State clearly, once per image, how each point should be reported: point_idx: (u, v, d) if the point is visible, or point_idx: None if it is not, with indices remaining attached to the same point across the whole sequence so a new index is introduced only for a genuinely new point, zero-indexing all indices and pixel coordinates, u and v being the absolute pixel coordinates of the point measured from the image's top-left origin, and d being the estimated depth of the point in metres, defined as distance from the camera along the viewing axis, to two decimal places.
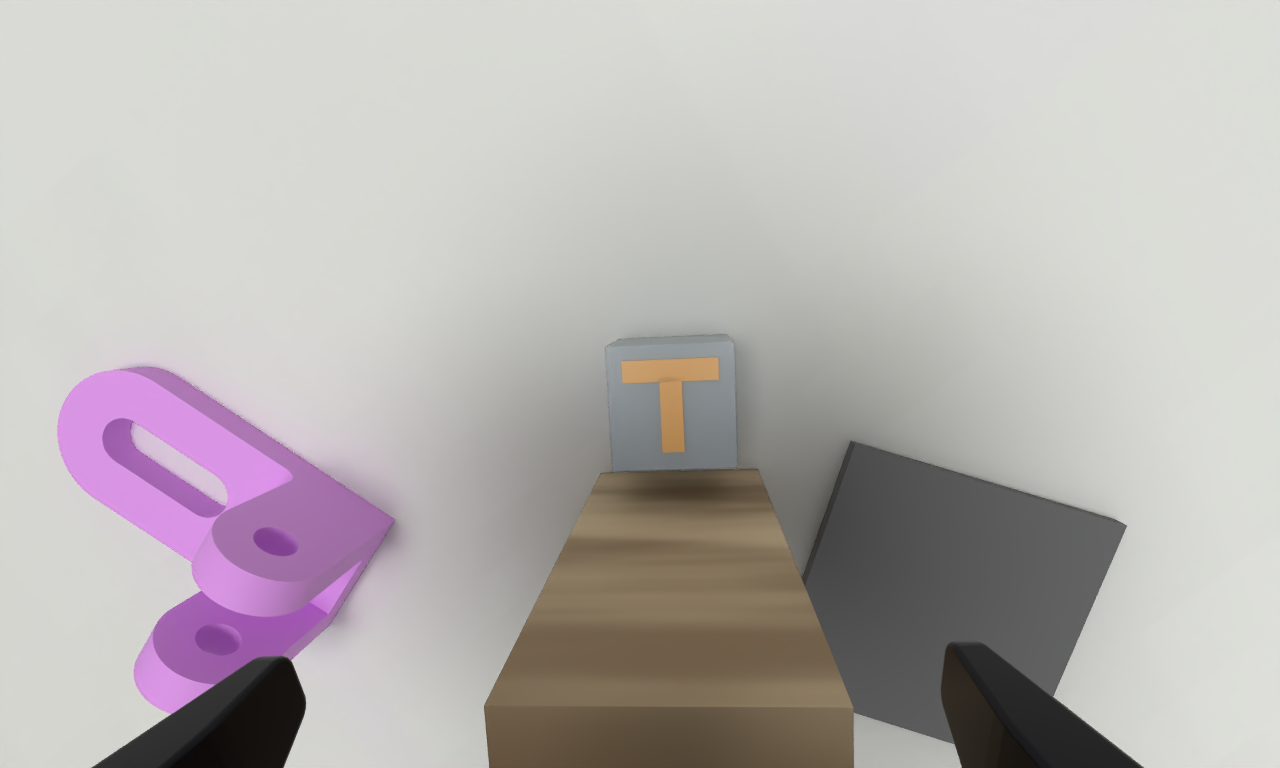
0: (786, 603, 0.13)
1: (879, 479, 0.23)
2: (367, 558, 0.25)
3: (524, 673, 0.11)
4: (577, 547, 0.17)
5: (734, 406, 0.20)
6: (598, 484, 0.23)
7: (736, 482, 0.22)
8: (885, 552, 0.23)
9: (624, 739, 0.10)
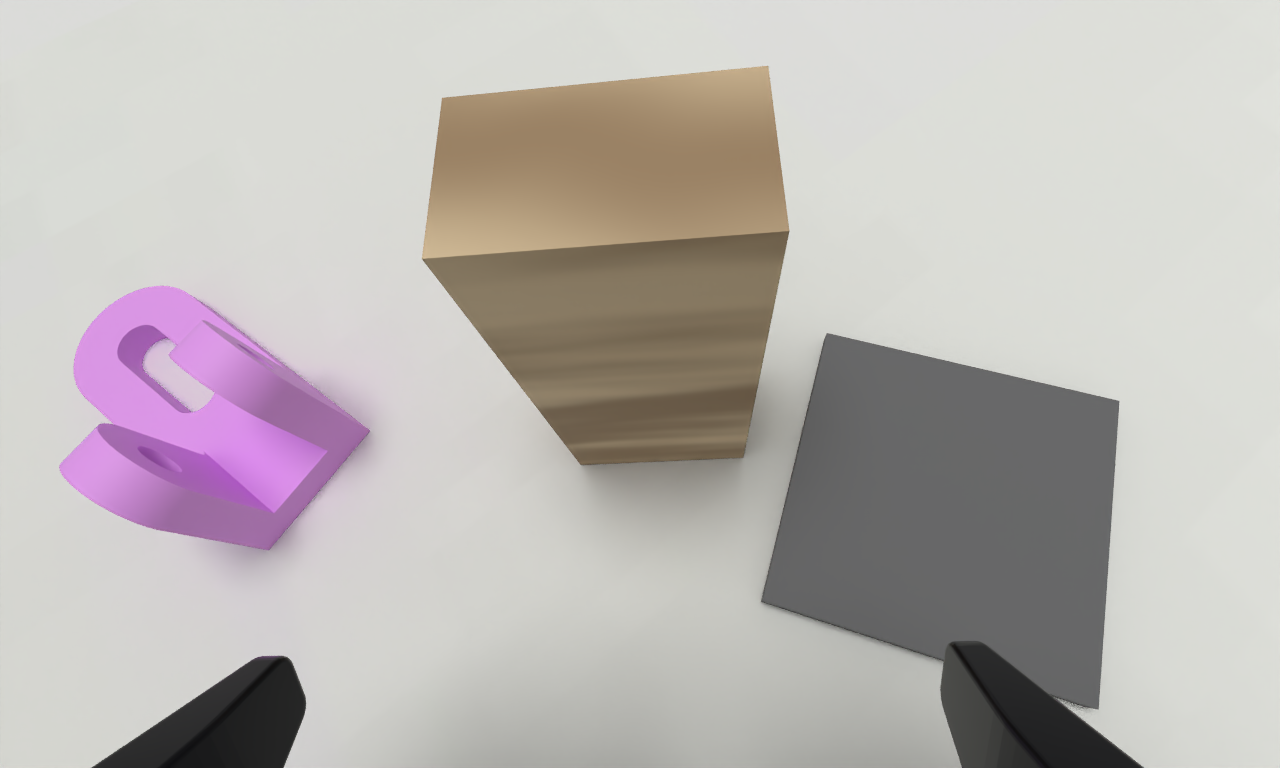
0: None
1: (855, 364, 0.23)
2: (332, 461, 0.24)
3: None
4: None
5: None
6: None
7: None
8: (873, 436, 0.22)
9: (563, 110, 0.11)
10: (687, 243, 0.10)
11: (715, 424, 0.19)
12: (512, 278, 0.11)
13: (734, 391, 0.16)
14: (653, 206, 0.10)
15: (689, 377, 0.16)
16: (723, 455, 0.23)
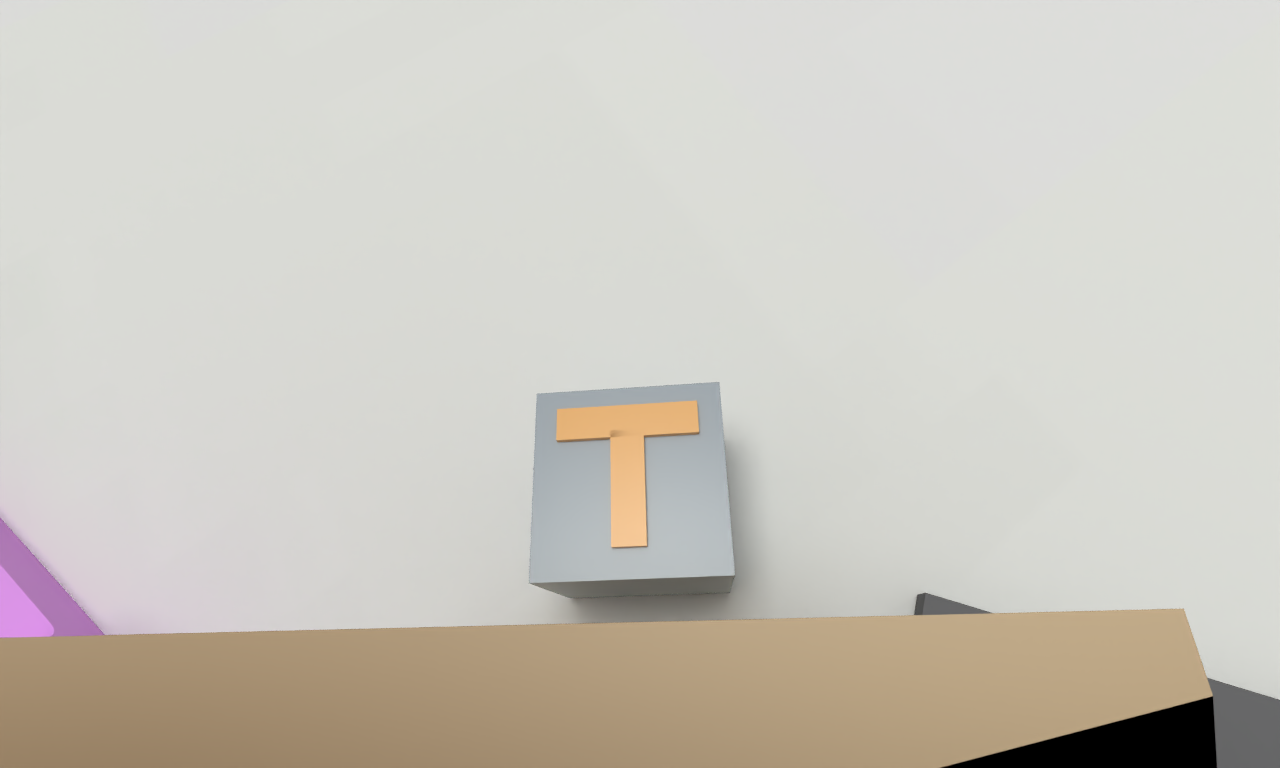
0: None
1: None
2: None
3: None
4: None
5: (724, 474, 0.13)
6: None
7: None
8: None
9: None
10: None
11: None
12: None
13: None
14: None
15: None
16: None
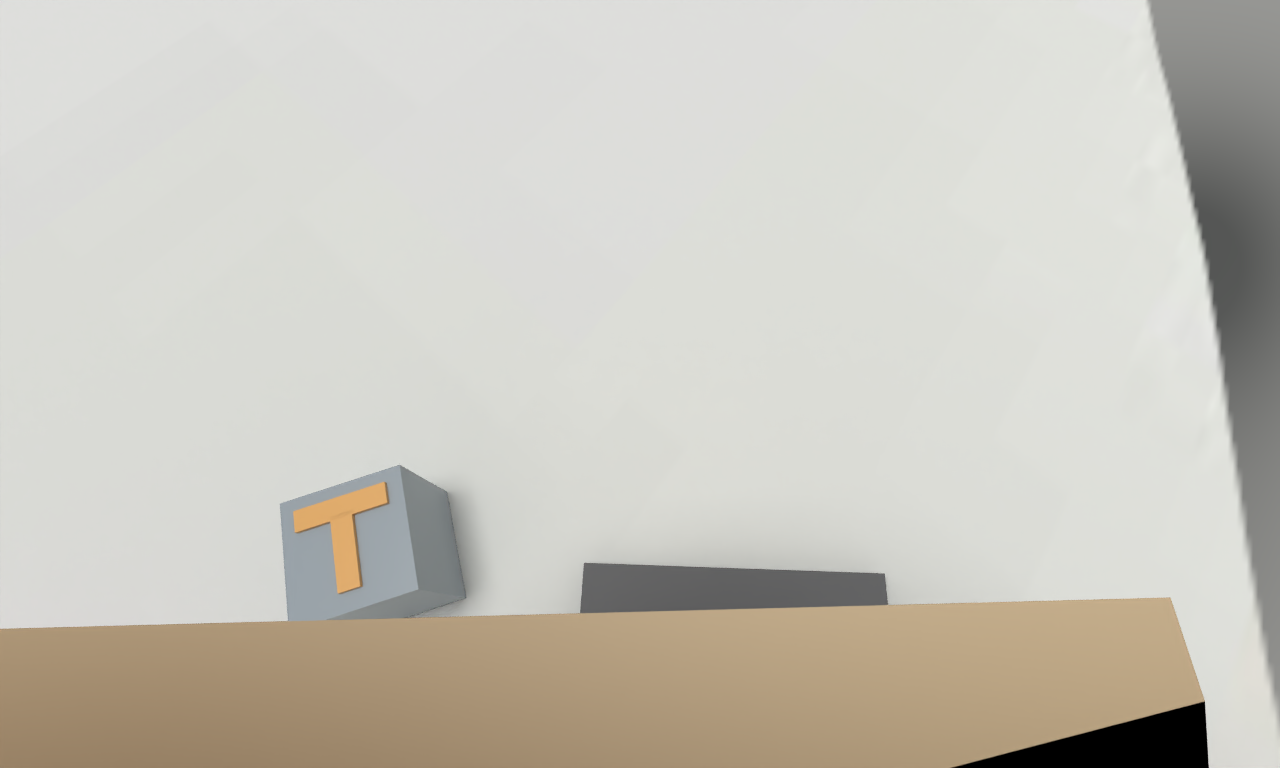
0: None
1: (618, 594, 0.21)
2: None
3: None
4: None
5: (407, 526, 0.19)
6: None
7: None
8: None
9: None
10: None
11: None
12: None
13: None
14: None
15: None
16: None
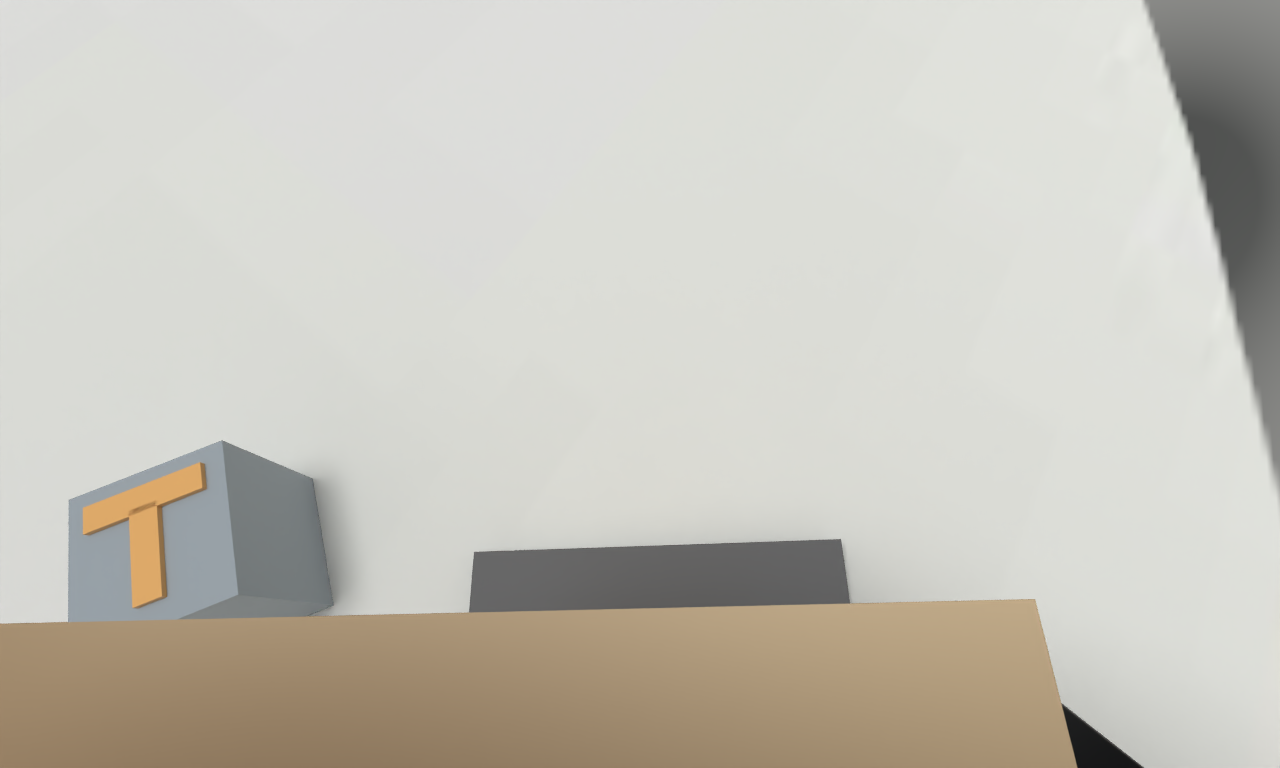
0: None
1: (515, 587, 0.17)
2: None
3: None
4: None
5: (228, 515, 0.15)
6: None
7: None
8: None
9: (286, 743, 0.03)
10: None
11: None
12: None
13: None
14: None
15: None
16: None
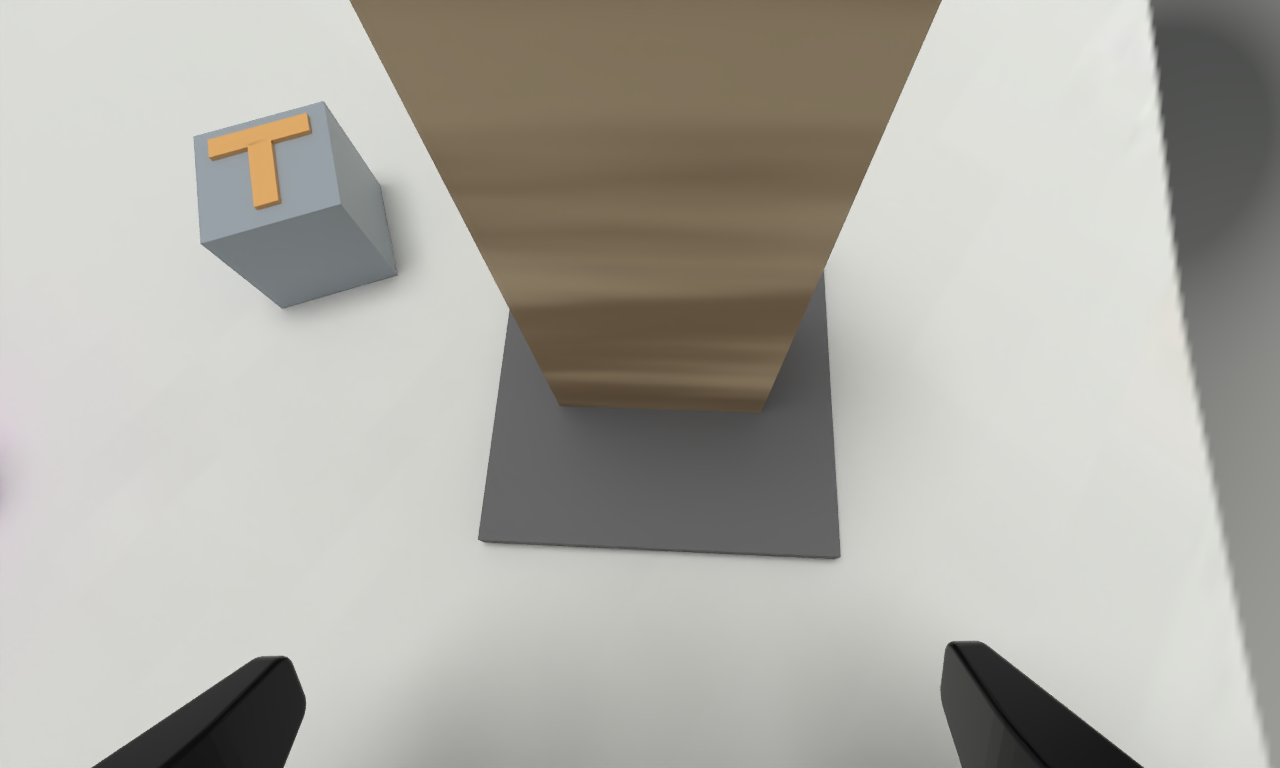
0: None
1: None
2: None
3: None
4: None
5: (330, 152, 0.19)
6: None
7: None
8: None
9: None
10: None
11: (738, 356, 0.15)
12: (472, 0, 0.06)
13: (778, 301, 0.12)
14: None
15: (723, 268, 0.11)
16: (737, 407, 0.18)
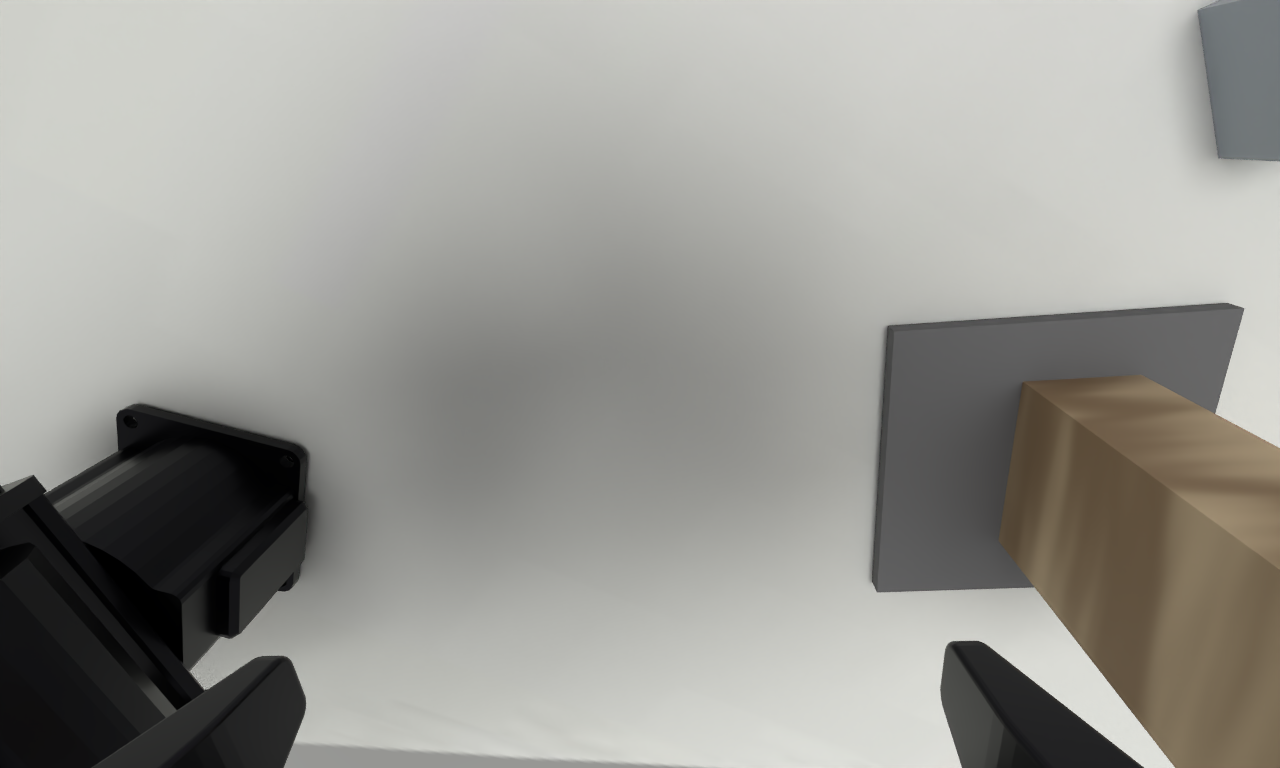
0: None
1: (1198, 350, 0.19)
2: None
3: None
4: None
5: None
6: None
7: None
8: None
9: None
10: None
11: (1073, 598, 0.18)
12: None
13: (1136, 694, 0.15)
14: None
15: (1182, 699, 0.14)
16: (1007, 530, 0.21)
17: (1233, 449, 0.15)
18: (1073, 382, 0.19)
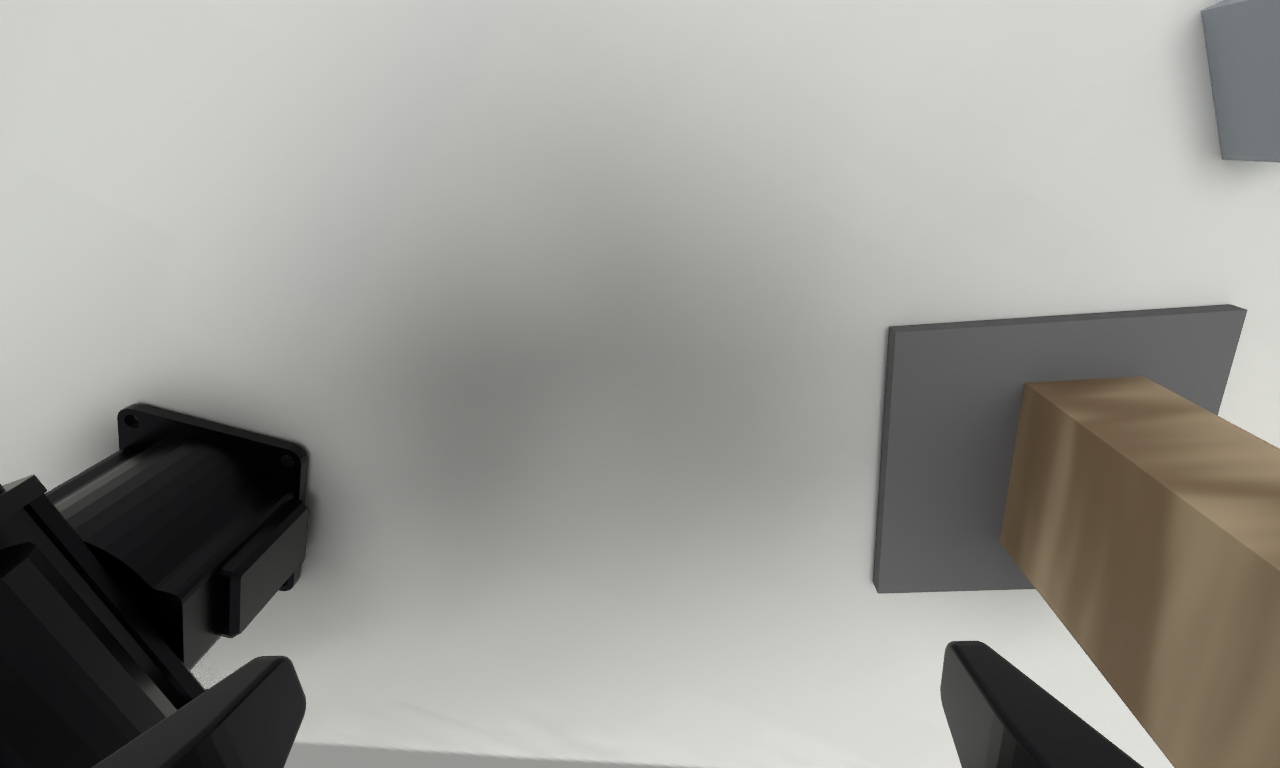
0: None
1: (1201, 352, 0.19)
2: None
3: None
4: None
5: None
6: None
7: None
8: None
9: None
10: None
11: (1074, 600, 0.18)
12: None
13: (1138, 696, 0.15)
14: None
15: (1184, 702, 0.14)
16: (1008, 532, 0.21)
17: (1235, 451, 0.15)
18: (1075, 383, 0.19)
